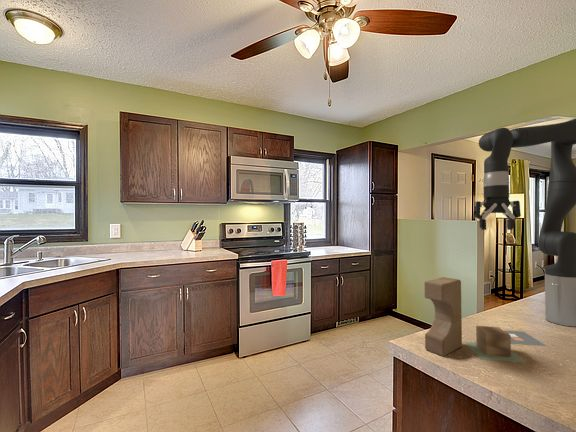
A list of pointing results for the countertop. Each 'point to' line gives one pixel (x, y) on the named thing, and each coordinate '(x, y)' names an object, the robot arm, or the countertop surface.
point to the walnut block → (493, 341)
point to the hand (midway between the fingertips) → (496, 229)
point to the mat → (482, 355)
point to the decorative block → (444, 315)
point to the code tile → (523, 338)
